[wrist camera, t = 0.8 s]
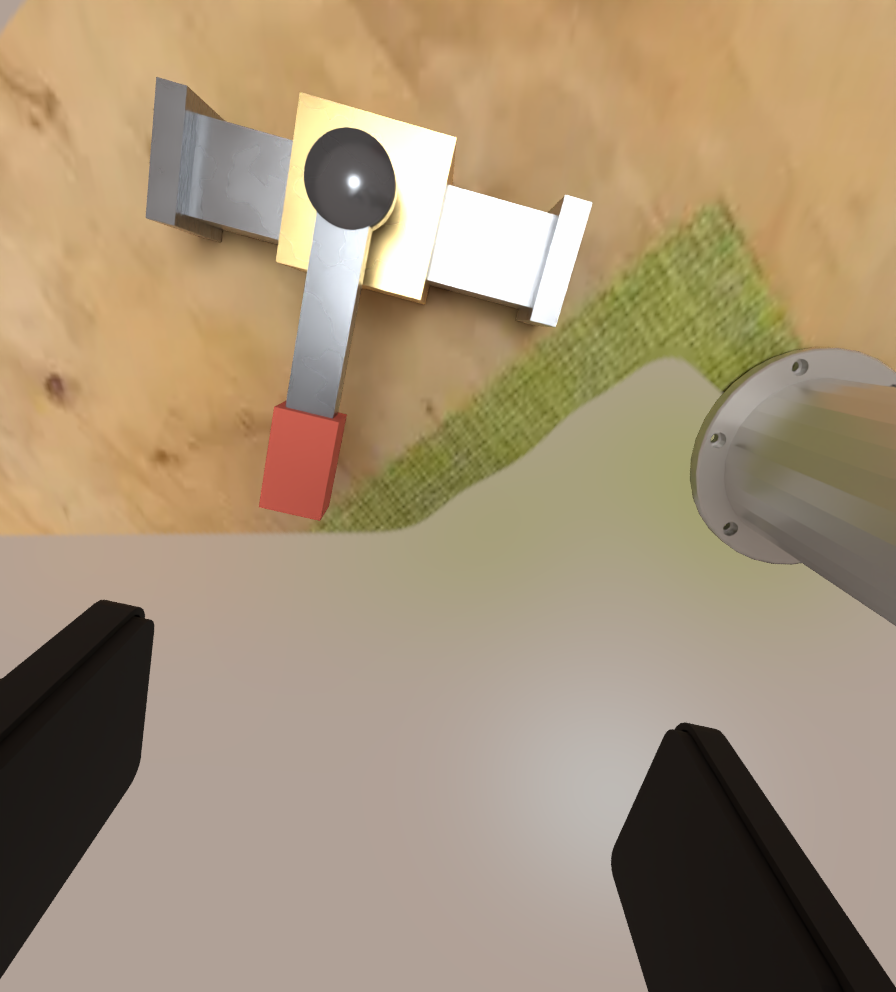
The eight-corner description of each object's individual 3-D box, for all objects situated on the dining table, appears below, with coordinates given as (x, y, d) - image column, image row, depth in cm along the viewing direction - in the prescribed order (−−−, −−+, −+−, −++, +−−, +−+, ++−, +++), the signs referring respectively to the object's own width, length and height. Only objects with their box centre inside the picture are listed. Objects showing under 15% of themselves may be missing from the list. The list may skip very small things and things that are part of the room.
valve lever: (321, 130, 19) (309, 112, 17) (406, 155, 19) (402, 138, 18) (265, 491, 23) (251, 505, 21) (336, 507, 23) (327, 522, 22)
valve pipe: (568, 214, 28) (624, 168, 20) (534, 333, 30) (572, 338, 21) (210, 113, 27) (100, 13, 18) (196, 244, 28) (90, 210, 20)
